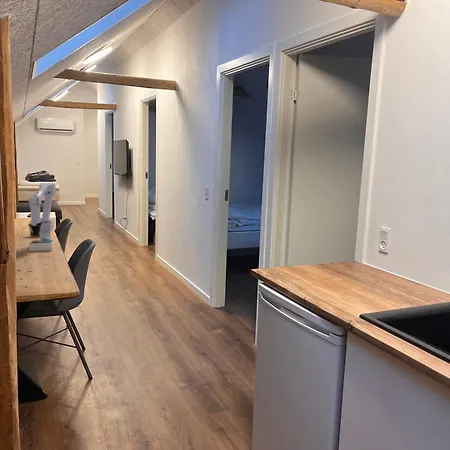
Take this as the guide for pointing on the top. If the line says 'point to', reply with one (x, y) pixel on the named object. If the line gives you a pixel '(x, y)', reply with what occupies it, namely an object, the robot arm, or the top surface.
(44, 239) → the teal cylinder
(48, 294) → the top surface
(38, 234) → the food container
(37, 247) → the tote
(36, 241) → the walnut cube
